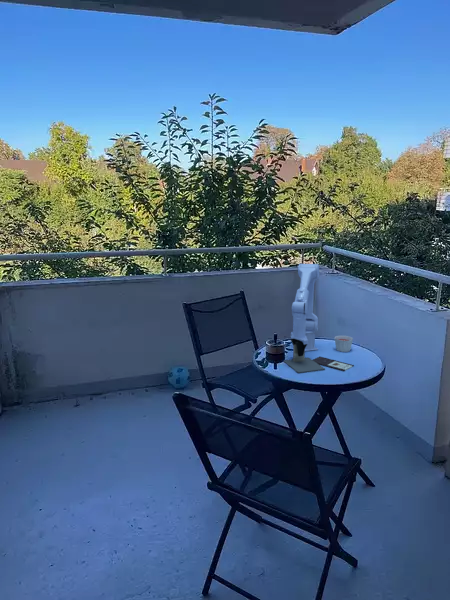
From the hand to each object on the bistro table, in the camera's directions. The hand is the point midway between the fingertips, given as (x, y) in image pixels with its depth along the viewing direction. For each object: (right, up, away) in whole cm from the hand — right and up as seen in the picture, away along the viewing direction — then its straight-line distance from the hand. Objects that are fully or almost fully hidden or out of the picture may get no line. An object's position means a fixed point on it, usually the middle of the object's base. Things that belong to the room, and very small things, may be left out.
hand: (298, 354), depth 196 cm
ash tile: (0, -3, +1) cm, 3 cm away
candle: (+26, 0, +17) cm, 31 cm away
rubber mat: (+1, -4, -4) cm, 6 cm away
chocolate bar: (+14, -5, -3) cm, 15 cm away
